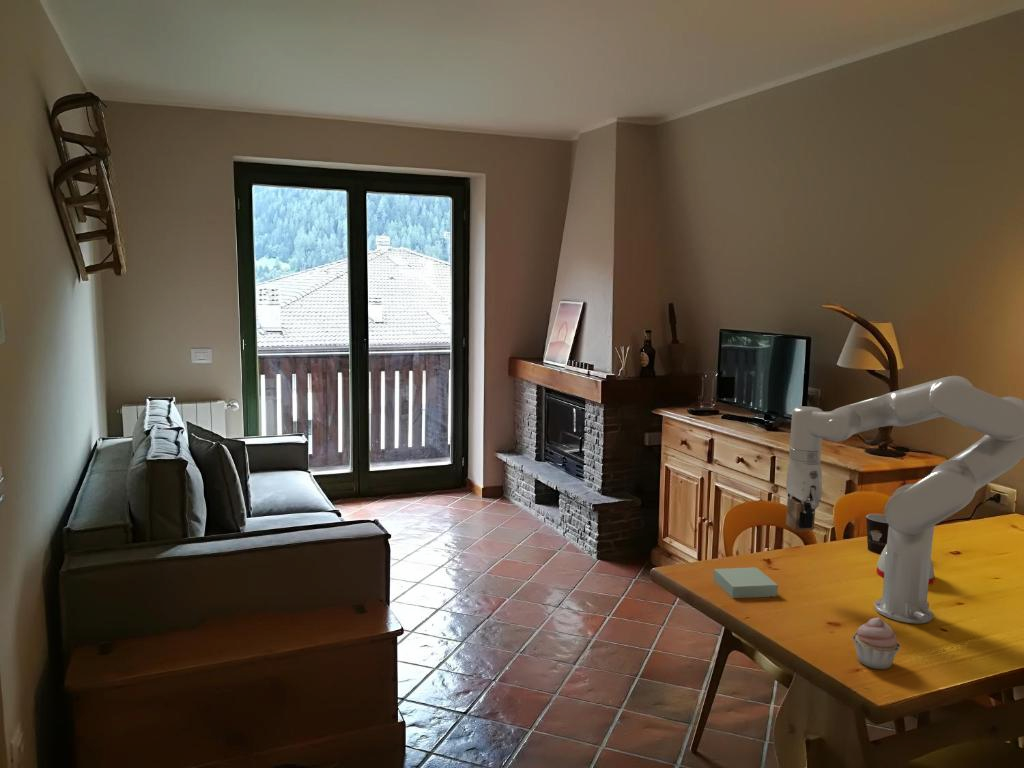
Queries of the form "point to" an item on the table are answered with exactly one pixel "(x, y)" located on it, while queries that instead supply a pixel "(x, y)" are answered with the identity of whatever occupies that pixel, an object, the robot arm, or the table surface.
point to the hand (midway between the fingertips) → (799, 523)
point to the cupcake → (876, 644)
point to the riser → (745, 582)
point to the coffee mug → (876, 532)
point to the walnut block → (796, 514)
